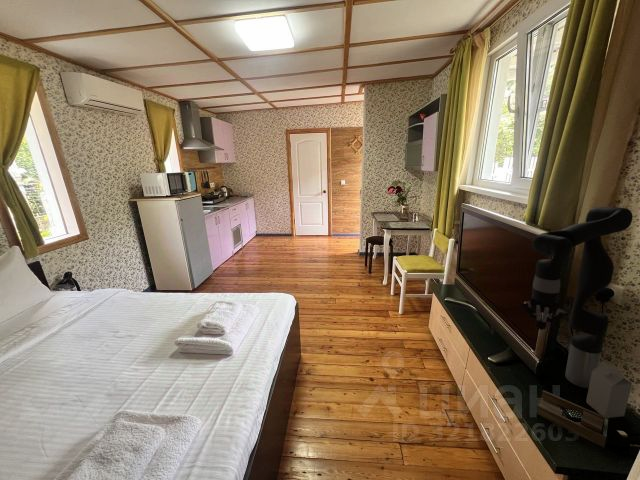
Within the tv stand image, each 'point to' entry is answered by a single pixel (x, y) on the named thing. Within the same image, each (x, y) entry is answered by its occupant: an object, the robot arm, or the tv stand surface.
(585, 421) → the walnut block
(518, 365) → the tv stand surface
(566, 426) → the wooden tray
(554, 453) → the tv stand surface
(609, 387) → the milk carton
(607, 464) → the tv stand surface
